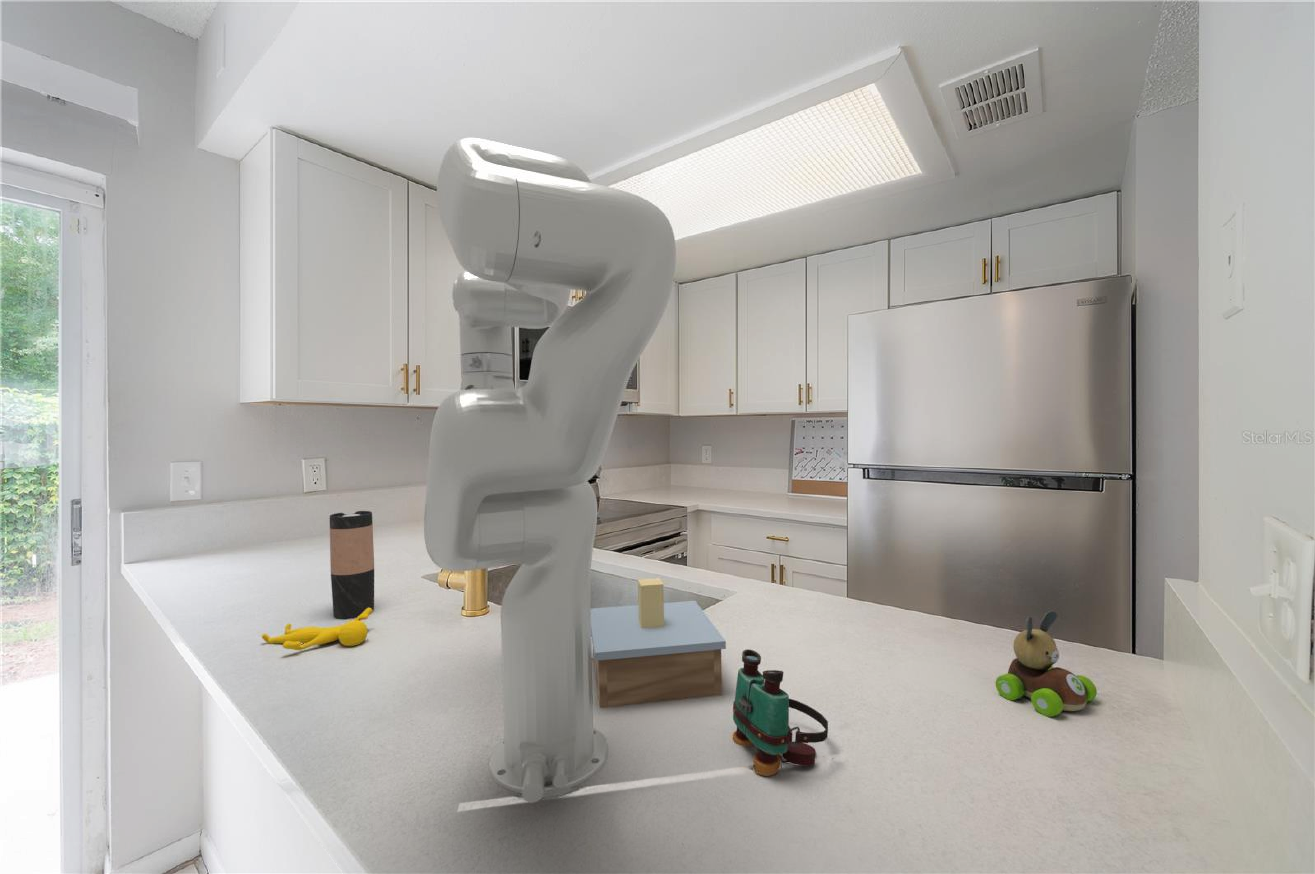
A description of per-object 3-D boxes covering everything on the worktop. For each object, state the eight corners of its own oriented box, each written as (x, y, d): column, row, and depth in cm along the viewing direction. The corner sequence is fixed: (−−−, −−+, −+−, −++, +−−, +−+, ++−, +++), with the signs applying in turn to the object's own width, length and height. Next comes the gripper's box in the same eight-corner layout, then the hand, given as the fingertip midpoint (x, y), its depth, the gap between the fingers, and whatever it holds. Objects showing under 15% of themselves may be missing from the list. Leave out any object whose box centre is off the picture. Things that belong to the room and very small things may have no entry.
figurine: (305, 610, 104) (388, 605, 100) (308, 634, 104) (391, 630, 100) (237, 638, 91) (330, 633, 87) (240, 665, 91) (334, 662, 87)
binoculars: (845, 672, 58) (764, 679, 55) (838, 772, 58) (756, 785, 55) (796, 641, 67) (723, 646, 63) (789, 728, 67) (716, 738, 63)
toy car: (1061, 724, 65) (1061, 631, 65) (989, 692, 73) (988, 609, 73) (1104, 706, 69) (1103, 618, 69) (1030, 677, 77) (1030, 598, 77)
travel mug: (356, 620, 106) (353, 517, 105) (322, 618, 107) (319, 516, 107) (384, 607, 113) (381, 510, 113) (351, 606, 115) (348, 510, 114)
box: (722, 700, 72) (721, 647, 72) (600, 713, 70) (598, 658, 69) (693, 651, 88) (692, 608, 88) (593, 660, 85) (592, 616, 85)
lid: (725, 648, 72) (724, 595, 72) (595, 660, 69) (593, 605, 69) (695, 606, 88) (694, 563, 88) (588, 615, 86) (587, 570, 85)
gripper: (478, 359, 74) (482, 486, 74) (534, 373, 91) (538, 477, 91) (429, 363, 76) (433, 487, 76) (493, 376, 93) (496, 477, 92)
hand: (490, 481), depth 83 cm, fingers open, 9 cm apart
